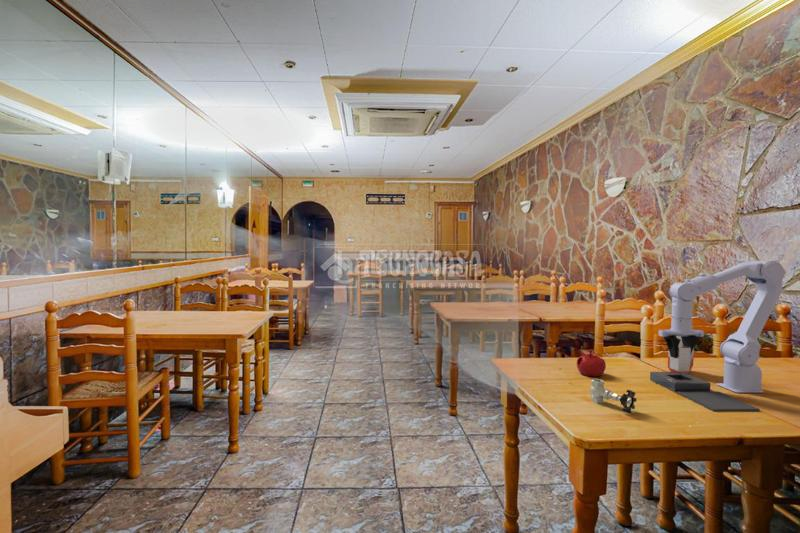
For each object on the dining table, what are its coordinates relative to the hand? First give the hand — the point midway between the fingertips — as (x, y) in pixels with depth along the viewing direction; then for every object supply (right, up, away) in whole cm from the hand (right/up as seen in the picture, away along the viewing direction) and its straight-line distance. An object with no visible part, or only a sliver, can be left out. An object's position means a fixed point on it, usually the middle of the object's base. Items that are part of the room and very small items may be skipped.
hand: (680, 357), depth 134 cm
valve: (-34, -11, -17) cm, 39 cm away
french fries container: (+11, -10, +16) cm, 22 cm away
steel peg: (0, -4, 0) cm, 4 cm away
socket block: (0, -10, 0) cm, 10 cm away
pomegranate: (-25, -10, +13) cm, 29 cm away
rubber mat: (+1, -11, -13) cm, 17 cm away
